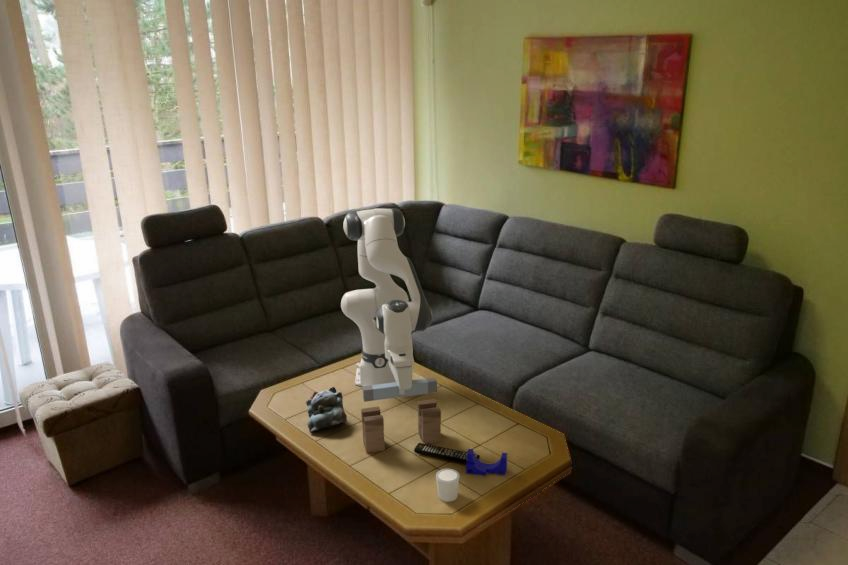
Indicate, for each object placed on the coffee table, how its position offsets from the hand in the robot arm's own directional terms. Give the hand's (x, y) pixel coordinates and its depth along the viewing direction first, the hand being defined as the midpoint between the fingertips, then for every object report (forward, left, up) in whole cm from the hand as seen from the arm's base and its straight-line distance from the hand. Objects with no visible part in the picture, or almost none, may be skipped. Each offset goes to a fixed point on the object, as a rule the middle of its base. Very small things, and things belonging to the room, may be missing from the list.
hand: (400, 390), depth 211 cm
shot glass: (+32, +7, -19) cm, 38 cm away
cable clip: (+23, +22, -20) cm, 37 cm away
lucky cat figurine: (-18, -24, -19) cm, 35 cm away
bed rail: (0, 0, -2) cm, 2 cm away
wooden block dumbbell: (0, 0, -19) cm, 19 cm away
